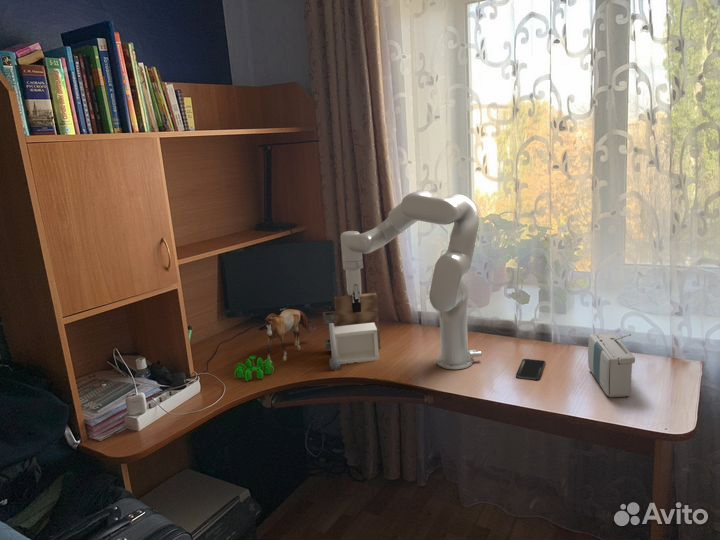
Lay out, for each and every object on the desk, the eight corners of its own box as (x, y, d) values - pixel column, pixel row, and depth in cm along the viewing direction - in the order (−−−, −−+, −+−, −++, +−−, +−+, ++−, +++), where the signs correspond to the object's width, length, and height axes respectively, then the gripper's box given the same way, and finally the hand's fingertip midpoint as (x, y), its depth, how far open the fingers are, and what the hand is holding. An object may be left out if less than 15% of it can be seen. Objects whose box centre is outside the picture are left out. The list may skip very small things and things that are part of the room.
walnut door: (379, 345, 228) (375, 291, 222) (380, 350, 223) (377, 295, 217) (326, 351, 226) (321, 297, 220) (326, 356, 221) (321, 301, 215)
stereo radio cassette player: (586, 370, 192) (588, 313, 187) (612, 369, 191) (614, 312, 186) (605, 399, 172) (607, 337, 167) (634, 399, 171) (637, 336, 166)
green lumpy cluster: (228, 373, 212) (225, 356, 211) (265, 362, 220) (263, 345, 218) (242, 387, 200) (240, 368, 198) (282, 375, 207) (280, 357, 206)
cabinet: (376, 351, 221) (373, 309, 217) (381, 365, 209) (377, 320, 205) (328, 357, 220) (324, 315, 215) (330, 370, 207) (326, 326, 203)
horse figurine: (274, 371, 210) (268, 318, 205) (257, 369, 214) (250, 316, 209) (318, 341, 237) (313, 293, 232) (302, 339, 240) (297, 292, 235)
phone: (515, 376, 190) (523, 358, 203) (515, 379, 191) (523, 361, 204) (540, 378, 187) (546, 360, 200) (540, 381, 187) (546, 363, 200)
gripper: (341, 260, 224) (345, 305, 228) (344, 270, 208) (348, 318, 212) (360, 258, 224) (363, 303, 229) (365, 268, 209) (368, 316, 213)
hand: (356, 310), depth 221 cm, fingers closed on walnut door, 3 cm apart
